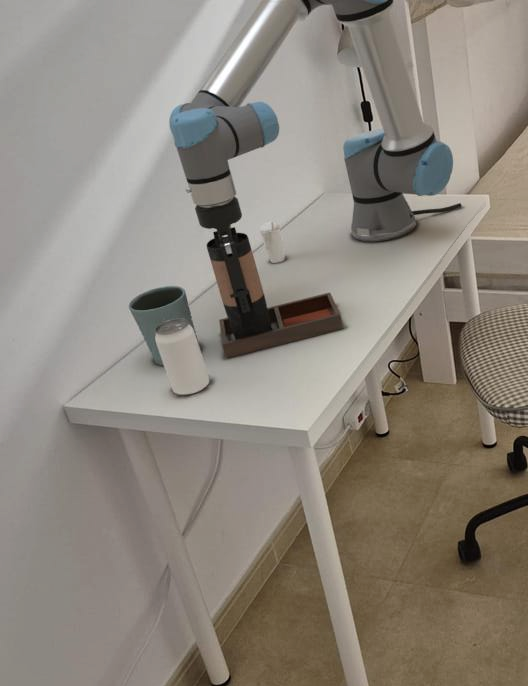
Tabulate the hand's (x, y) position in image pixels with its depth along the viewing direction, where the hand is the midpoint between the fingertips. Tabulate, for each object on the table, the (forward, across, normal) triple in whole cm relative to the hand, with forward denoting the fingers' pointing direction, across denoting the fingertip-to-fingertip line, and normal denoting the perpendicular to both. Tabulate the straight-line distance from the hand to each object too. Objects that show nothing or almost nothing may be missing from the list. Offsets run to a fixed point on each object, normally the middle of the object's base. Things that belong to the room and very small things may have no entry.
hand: (248, 316), depth 164 cm
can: (+5, +13, -12) cm, 19 cm away
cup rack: (+5, 0, +5) cm, 7 cm away
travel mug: (+5, 0, 0) cm, 5 cm away
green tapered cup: (+5, -1, -15) cm, 16 cm away
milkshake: (+5, -37, +9) cm, 39 cm away
